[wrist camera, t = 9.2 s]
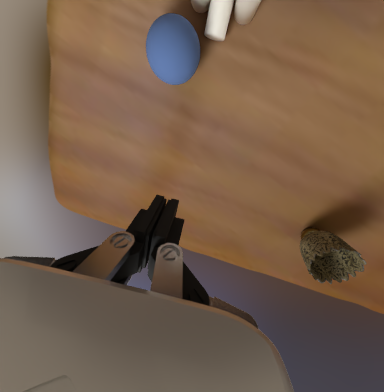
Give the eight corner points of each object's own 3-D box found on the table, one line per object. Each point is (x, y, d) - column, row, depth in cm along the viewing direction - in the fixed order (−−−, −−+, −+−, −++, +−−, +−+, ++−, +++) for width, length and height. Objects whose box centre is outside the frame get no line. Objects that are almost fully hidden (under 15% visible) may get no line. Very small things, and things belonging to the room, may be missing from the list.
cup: (282, 229, 32) (301, 263, 25) (322, 210, 30) (356, 243, 23) (298, 252, 35) (321, 289, 28) (337, 237, 32) (372, 274, 25)
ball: (167, -16, 14) (172, 72, 16) (211, 17, 18) (210, 83, 20) (131, 17, 18) (139, 84, 20) (174, 38, 22) (176, 91, 24)
